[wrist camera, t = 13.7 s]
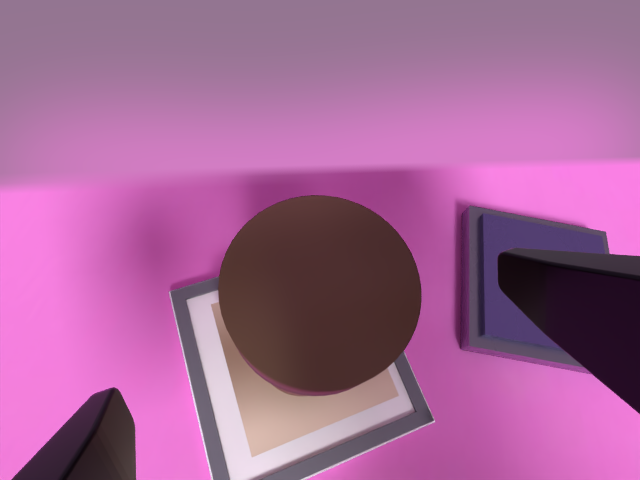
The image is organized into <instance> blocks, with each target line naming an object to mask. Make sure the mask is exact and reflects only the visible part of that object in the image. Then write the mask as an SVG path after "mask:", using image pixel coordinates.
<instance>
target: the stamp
mask: <svg viewBox="0 0 640 480" xmlns="http://www.w3.org/2000/svg"><path fill="white" fill-rule="evenodd" d="M218 295H219V302H217V303H214V304H211V307H212V311H213V315H214V318H215V322H216V326H217V330H218V333H219V337H220V341H221V344H222V348H223V352H224V356H225V359H226V363H227V367H228V370H229V374H230V378H231V382H232V385H233V389H234V393H235V396H236V400H237V404H238V408H239V411H240V415H241V419H242V422H243V426H244V430H245V434H246V437H247V441H248V445H249V448H250V452H251V456H252V457H254V456H257V455H259V454H261V453H264V452H266V451H268V450H271V449H273V448H276V447H278V446H280V445H283V444H285V443H288V442H290V441H292V440H295V439H297V438H299V437H302V436H304V435H307V434H309V433H311V432H314V431H316V430H319V429H321V428H323V427H326V426H328V425H330V424H333V423H335V422H338V421H340V420H342V419H345V418H347V417H350V416H352V415H354V414H357V413H359V412H362V411H364V410H366V409H369V408H371V407H373V406H376V405H378V404H381V403H383V402H385V401H388V400H390V399H393V398H395V397H397V396H399V394H398V392H397V390H396V387H395V385H394V382H393V380H392V378H391V375H390V373H389V371H388V367H389V366H390V365H391V364H392V363H393V362H394V361H395V360H396V359H397V358H398V357H399V356H400V354H401V353H402V352H403V351H404V350H405V348H406V346H407V345H408V343H409V341H410V340H411V338H412V335H413V333H414V331H415V328H416V326H417V322H418V318H419V315H420V308H421V284H420V277H419V273H418V270H417V266H416V263H415V261H414V258H413V256H412V254H411V252H410V250H409V248H408V247H407V245H406V243H405V242H404V240H403V239H402V238H401V236H400V235H399V234H398V232H397V231H396V230H395V229H394V228H393V227H392V226H391V225H390V224H389V223H388V222H386V221H385V220H384V219H383V218H382V217H380V216H379V215H377V214H376V213H374V212H373V211H371V210H370V209H368V208H366V207H364V206H362V205H360V204H357V203H355V202H352V201H349V200H346V199H342V198H338V197H331V196H319V195H311V196H301V197H296V198H291V199H288V200H285V201H282V202H279V203H276V204H274V205H272V206H270V207H268V208H266V209H265V210H263V211H261V212H260V213H258V214H257V215H256V216H254V217H253V218H252V219H251V220H250V221H248V222H247V223H246V224H245V225H244V226H243V228H242V229H241V230H240V231H239V232H238V233H237V235H236V236H235V238H234V239H233V240H232V242H231V244H230V246H229V248H228V250H227V251H226V254H225V257H224V259H223V262H222V266H221V270H220V275H219V284H218Z"/></svg>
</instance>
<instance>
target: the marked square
mask: <svg viewBox="0 0 640 480" xmlns="http://www.w3.org/2000/svg"><path fill="white" fill-rule="evenodd" d="M218 284H219V276H218V277H215V278H212V279H208V280H205V281H202V282H198V283H195V284H192V285H189V286H185V287H182V288H179V289H175V290H172V291H169V295H170V300H171V304H172V308H173V313H174V317H175V322H176V326H177V330H178V335H179V339H180V344H181V348H182V352H183V357H184V361H185V365H186V370H187V374H188V379H189V383H190V387H191V392H192V396H193V401H194V405H195V409H196V414H197V418H198V423H199V427H200V431H201V436H202V440H203V444H204V449H205V453H206V458H207V462H208V466H209V471H210V475H211V480H306V479H308V478H310V477H313V476H315V475H317V474H319V473H322V472H324V471H326V470H328V469H331V468H333V467H335V466H337V465H340V464H342V463H344V462H346V461H349V460H351V459H353V458H355V457H358V456H360V455H362V454H364V453H367V452H369V451H371V450H373V449H376V448H378V447H380V446H382V445H385V444H387V443H389V442H391V441H394V440H396V439H398V438H400V437H403V436H405V435H407V434H409V433H411V432H414V431H416V430H418V429H420V428H423V427H425V426H427V425H429V424H432V423H434V422H435V420H434V417H433V415H432V413H431V411H430V408H429V406H428V404H427V402H426V399H425V397H424V395H423V393H422V390H421V388H420V386H419V384H418V381H417V379H416V377H415V375H414V372H413V370H412V368H411V366H410V363H409V361H408V359H407V357H406V354H405V352H404V351H403V352H402V353H401V354H400V356H399V357H398V358H397V359H396V360H395V361H394V362H393V363H392V364H391V365H390V366H389V367H388V371H389V373H390V375H391V378H392V380H393V382H394V385H395V387H396V390H397V392H398V394H399V396H397V397H395V398H393V399H390V400H388V401H385V402H383V403H381V404H378V405H376V406H373V407H371V408H369V409H366V410H364V411H362V412H359V413H357V414H354V415H352V416H350V417H347V418H345V419H342V420H340V421H338V422H335V423H333V424H330V425H328V426H326V427H323V428H321V429H319V430H316V431H314V432H311V433H309V434H307V435H304V436H302V437H299V438H297V439H295V440H292V441H290V442H288V443H285V444H283V445H280V446H278V447H276V448H273V449H271V450H268V451H266V452H264V453H261V454H259V455H257V456H254V457H252V456H251V452H250V448H249V445H248V441H247V437H246V434H245V430H244V426H243V422H242V419H241V415H240V411H239V408H238V404H237V400H236V396H235V393H234V389H233V385H232V382H231V378H230V374H229V370H228V367H227V363H226V359H225V356H224V352H223V348H222V344H221V341H220V337H219V333H218V330H217V326H216V322H215V318H214V315H213V311H212V307H211V304H214V303H217V302H219V295H218Z"/></svg>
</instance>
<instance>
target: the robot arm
mask: <svg viewBox="0 0 640 480" xmlns="http://www.w3.org/2000/svg"><path fill="white" fill-rule="evenodd" d="M497 268H498V285H499V287H500V289H501V291H502V292H503V293H504V294H505V295H506V296H507V297H508V298H509V299H510V300H511V301H512V302H513V303H514V304H515V305H516V306H517V307H518V308H519V309H520V310H521V311H522V312H523V313H524V314H525V315H526V316H527V317H528V318H529V319H530V320H531V321H532V322H533V323H534V324H535V325H536V326H537V327H538V328H539V329H540V330H541V331H542V332H543V333H544V334H545V335H546V336H547V337H548V338H550V339H551V340H552V341H553V342H554V343H555V344H557V345H558V346H559V347H560V348H561V349H563V350H564V351H565V352H566V353H567V354H569V355H570V356H571V357H572V358H573V359H575V360H576V361H577V362H578V363H579V364H581V365H582V366H583V367H584V368H585V369H587V370H588V371H589V372H590V373H591V374H593V375H594V376H595V377H596V378H597V379H599V380H600V381H601V382H602V383H603V384H605V385H606V386H607V387H608V388H609V389H611V390H612V391H613V392H614V393H615V394H616V395H618V396H619V397H620V398H621V399H622V400H624V401H625V402H626V403H627V404H628V405H630V406H631V407H632V408H633V409H634V410H636V411H637V412H638V413H639V414H640V256H629V255H615V254H600V253H586V252H572V251H557V250H543V249H529V248H511V249H508V250H505V251H503V252H501V253H500V254H499V255H498V258H497ZM12 480H136V451H135V425H134V421H133V418H132V415H131V413H130V411H129V409H128V407H127V405H126V403H125V401H124V399H123V397H122V395H121V393H120V391H119V390H118V389H117V388H114V387H113V388H109V389H106V390H104V391H101V392H98V393H95V394H93V395H92V396H91V397H90V398H89V399H88V400H87V401H86V402H85V403H84V404H83V405H82V406H81V407H80V408H79V409H78V411H77V412H76V413H75V414H74V415H73V416H72V417H71V418H70V419H69V420H68V421H67V422H66V423H65V424H64V425H63V426H62V427H61V428H60V429H59V430H58V431H57V432H56V434H55V435H54V436H53V437H52V438H51V439H50V440H49V441H48V442H47V443H46V444H45V445H44V446H43V447H42V448H41V449H40V450H39V451H38V452H37V453H36V454H35V455H34V457H33V458H32V459H31V460H30V461H29V462H28V463H27V464H26V465H25V466H24V467H23V468H22V469H21V470H20V471H19V472H18V473H17V474H16V475H15V476H14V477H13V479H12Z"/></svg>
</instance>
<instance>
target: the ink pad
mask: <svg viewBox="0 0 640 480" xmlns="http://www.w3.org/2000/svg"><path fill="white" fill-rule="evenodd" d="M511 248H529V249H543V250H557V251H572V252H586V253H600V254H609V248H608V242H607V236H606V232H604V231H599V230H594V229H589V228H583V227H578V226H573V225H568V224H563V223H558V222H552V221H547V220H542V219H537V218H532V217H526V216H521V215H516V214H511V213H506V212H500V211H495V210H490V209H485V208H480V207H474V206H469V207H468V208H467V209H466V210H465V211H464V212H463V214H462V279H461V350H466V351H472V352H477V353H482V354H488V355H493V356H498V357H503V358H509V359H514V360H519V361H525V362H530V363H535V364H541V365H546V366H551V367H557V368H562V369H567V370H572V371H578V372H583V373H588V374H591V373H590V372H589V371H588V370H587V369H585V368H584V367H583V366H582V365H581V364H579V363H578V362H577V361H576V360H575V359H573V358H572V357H571V356H570V355H569V354H567V353H566V352H565V351H564V350H563V349H561V348H560V347H559V346H558V345H557V344H555V343H554V342H553V341H552V340H551V339H550V338H548V337H547V336H546V335H545V334H544V333H543V332H542V331H541V330H540V329H539V328H538V327H537V326H536V325H535V324H534V323H533V322H532V321H531V320H530V319H529V318H528V317H527V316H526V315H525V314H524V313H523V312H522V311H521V310H520V309H519V308H518V307H517V306H516V305H515V304H514V303H513V302H512V301H511V300H510V299H509V298H508V297H507V296H506V295H505V294H504V293H503V292H502V291H501V289H500V287H499V285H498V268H497V258H498V255H499V254H500V253H501V252H503V251H505V250H508V249H511Z"/></svg>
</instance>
